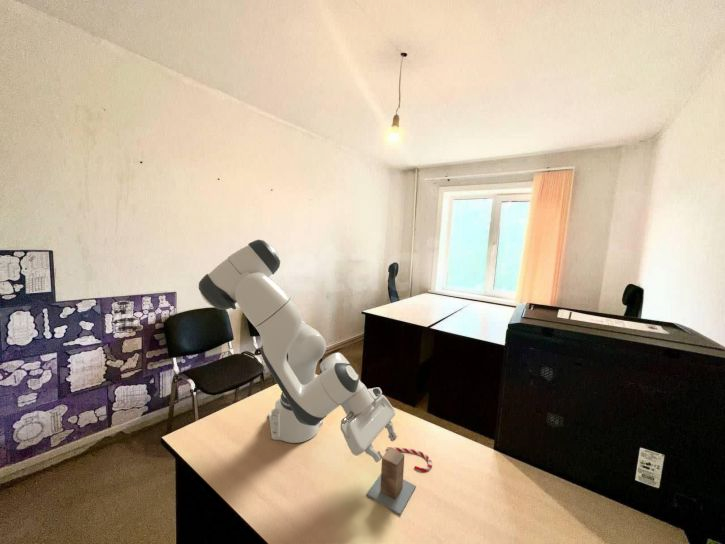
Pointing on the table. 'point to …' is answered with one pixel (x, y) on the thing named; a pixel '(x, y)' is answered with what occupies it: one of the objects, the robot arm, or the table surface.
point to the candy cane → (417, 454)
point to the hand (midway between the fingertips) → (387, 449)
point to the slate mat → (387, 501)
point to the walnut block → (392, 473)
